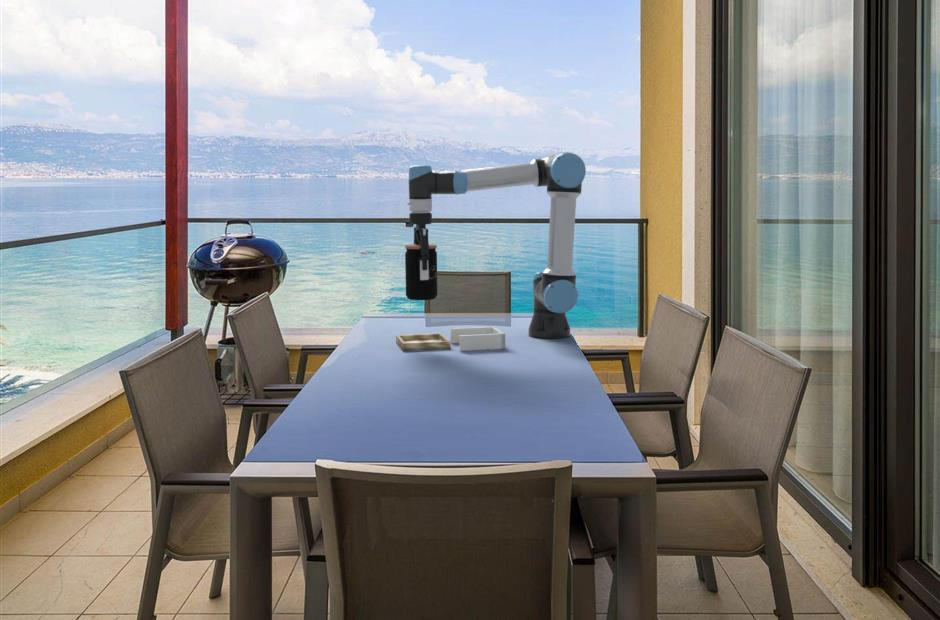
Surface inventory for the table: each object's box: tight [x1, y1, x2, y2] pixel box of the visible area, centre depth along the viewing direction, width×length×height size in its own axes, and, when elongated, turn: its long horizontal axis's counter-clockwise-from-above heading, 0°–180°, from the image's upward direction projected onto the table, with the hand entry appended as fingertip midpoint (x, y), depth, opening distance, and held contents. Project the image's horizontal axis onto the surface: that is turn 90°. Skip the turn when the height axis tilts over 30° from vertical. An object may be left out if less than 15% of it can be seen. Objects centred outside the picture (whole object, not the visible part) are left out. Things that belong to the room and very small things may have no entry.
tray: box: [395, 332, 451, 352], centre depth 290 cm, size 16×16×2 cm
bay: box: [450, 326, 506, 352], centre depth 289 cm, size 15×15×5 cm
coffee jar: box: [404, 243, 438, 301], centre depth 287 cm, size 11×11×18 cm
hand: (421, 278), depth 287 cm, fingers closed on coffee jar, 11 cm apart
